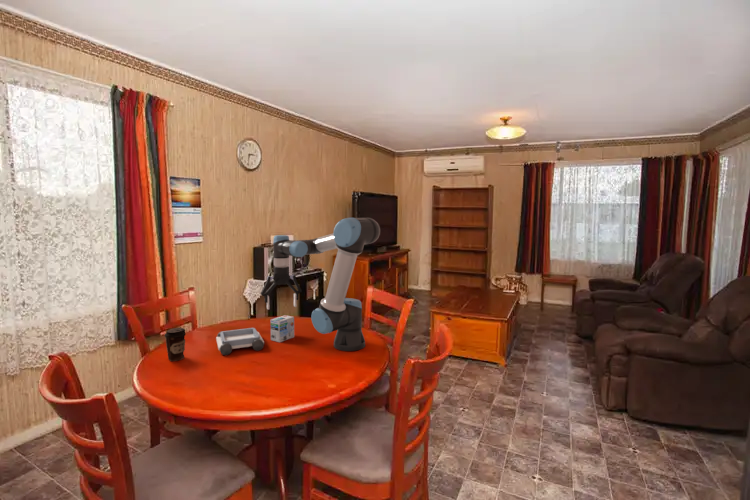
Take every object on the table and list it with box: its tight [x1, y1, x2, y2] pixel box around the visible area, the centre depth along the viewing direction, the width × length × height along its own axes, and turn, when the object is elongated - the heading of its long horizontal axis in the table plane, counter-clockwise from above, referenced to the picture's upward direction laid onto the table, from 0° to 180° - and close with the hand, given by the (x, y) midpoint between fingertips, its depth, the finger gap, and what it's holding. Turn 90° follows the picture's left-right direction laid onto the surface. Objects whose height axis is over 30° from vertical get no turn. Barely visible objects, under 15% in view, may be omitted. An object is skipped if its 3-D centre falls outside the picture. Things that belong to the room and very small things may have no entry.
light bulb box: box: [270, 314, 295, 343], centre depth 198 cm, size 11×7×11 cm, turn 148°
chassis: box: [215, 327, 265, 356], centre depth 187 cm, size 21×20×6 cm
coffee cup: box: [164, 327, 186, 362], centre depth 170 cm, size 9×8×13 cm
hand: (281, 307), depth 197 cm, fingers open, 13 cm apart
